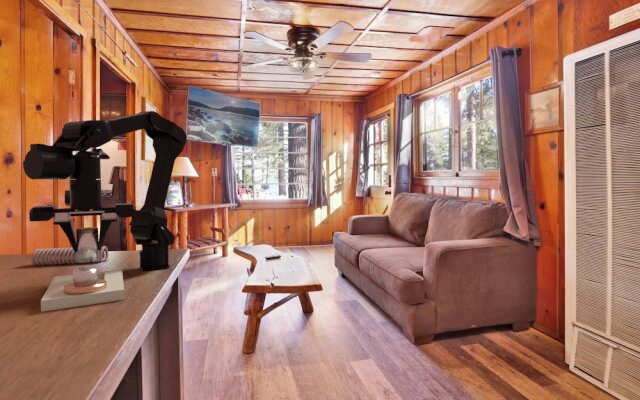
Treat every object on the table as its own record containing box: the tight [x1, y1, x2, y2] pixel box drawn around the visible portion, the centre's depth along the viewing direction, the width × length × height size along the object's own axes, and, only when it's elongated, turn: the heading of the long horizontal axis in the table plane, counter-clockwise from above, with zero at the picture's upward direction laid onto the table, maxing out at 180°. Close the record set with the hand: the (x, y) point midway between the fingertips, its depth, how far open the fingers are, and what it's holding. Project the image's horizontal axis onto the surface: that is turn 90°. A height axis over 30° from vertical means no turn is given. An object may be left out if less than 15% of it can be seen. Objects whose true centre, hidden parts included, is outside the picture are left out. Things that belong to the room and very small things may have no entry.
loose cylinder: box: [75, 226, 99, 263], centre depth 77 cm, size 4×4×7 cm
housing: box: [40, 268, 125, 312], centre depth 74 cm, size 13×18×2 cm
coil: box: [30, 245, 110, 267], centre depth 99 cm, size 5×5×18 cm
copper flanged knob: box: [64, 266, 107, 295], centre depth 69 cm, size 7×7×4 cm
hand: (88, 251), depth 77 cm, fingers closed on loose cylinder, 4 cm apart
